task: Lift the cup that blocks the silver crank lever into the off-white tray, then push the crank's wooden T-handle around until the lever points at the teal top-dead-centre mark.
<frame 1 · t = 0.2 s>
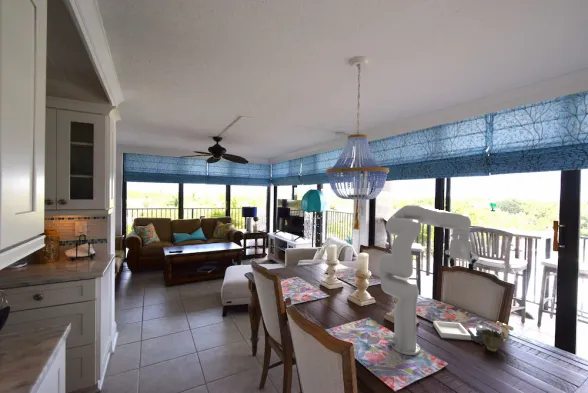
hand: (461, 268, 144), 31 cm above the table, tool pointing down, fingers open, 9 cm apart
crank: (491, 327, 126), point 8 cm above the table, hinge at 0.0°
cup: (491, 350, 121), on the table
crank base: (480, 338, 130), on the table
tray: (451, 332, 137), on the table
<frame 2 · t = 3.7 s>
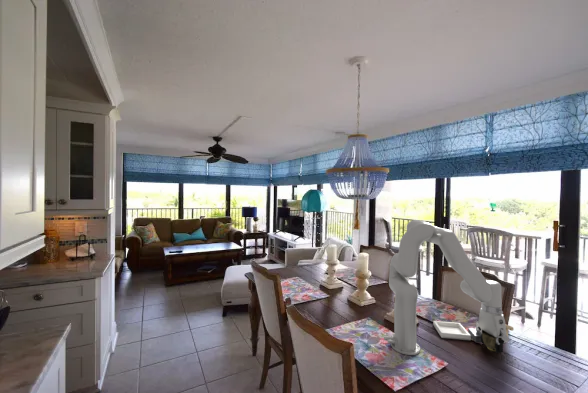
hand: (491, 347, 121), 1 cm above the table, tool pointing down, fingers closed on cup, 6 cm apart
cup: (491, 350, 121), on the table, touching gripper
everything else where it was.
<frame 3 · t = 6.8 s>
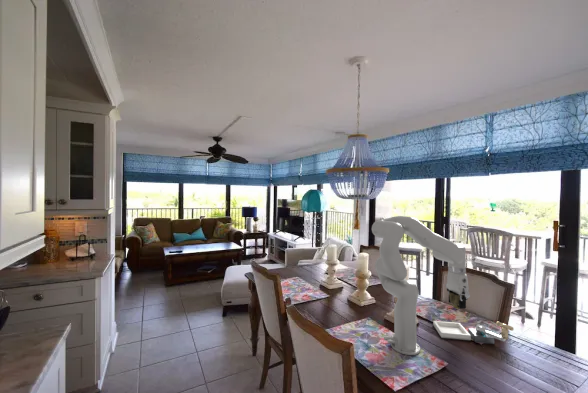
hand: (457, 305, 134), 15 cm above the table, tool pointing down, fingers closed on cup, 6 cm apart
cup: (457, 308, 134), point 14 cm above the table, touching gripper
everything else where it was.
when the fingers open (3 cm above the table, at t = 10.0 s): cup drops 1 cm, resting on tray.
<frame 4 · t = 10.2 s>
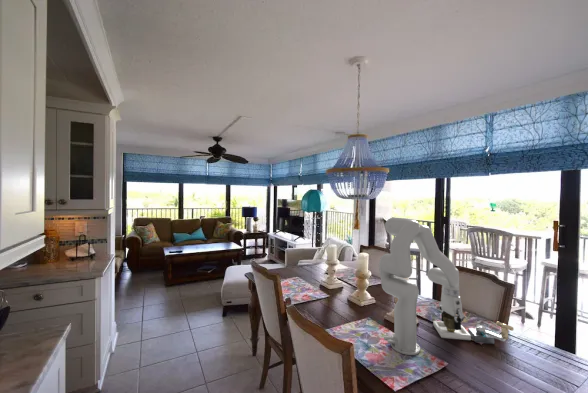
hand: (450, 325, 137), 4 cm above the table, tool pointing down, fingers open, 8 cm apart
cup: (450, 331, 137), resting on tray
everything else where it was.
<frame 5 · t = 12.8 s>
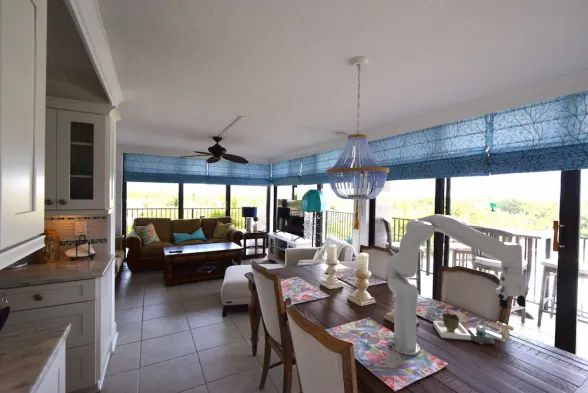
hand: (512, 306, 123), 19 cm above the table, tool pointing down, fingers open, 9 cm apart
nothing on the table moved.
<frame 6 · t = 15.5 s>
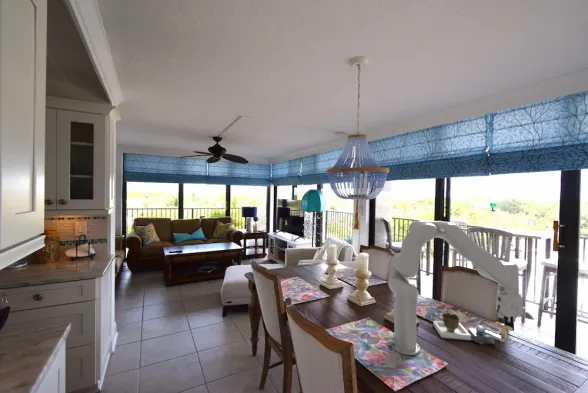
hand: (509, 329, 122), 9 cm above the table, tool pointing down, fingers closed
crank: (490, 327, 126), point 8 cm above the table, hinge at -3.4°, touching gripper
everything else where it was.
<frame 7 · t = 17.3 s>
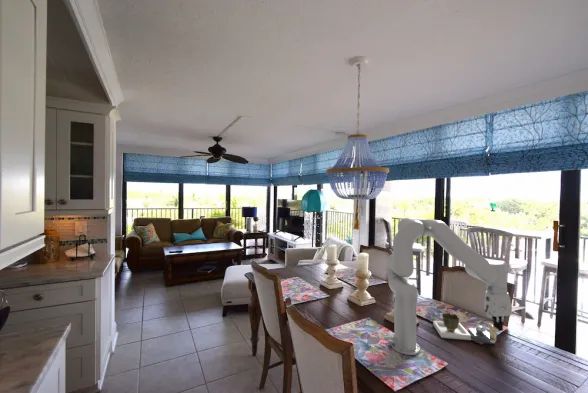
hand: (498, 329, 121), 9 cm above the table, tool pointing down, fingers closed
crank: (486, 328, 126), point 8 cm above the table, hinge at -37.0°, touching gripper
everything else where it was.
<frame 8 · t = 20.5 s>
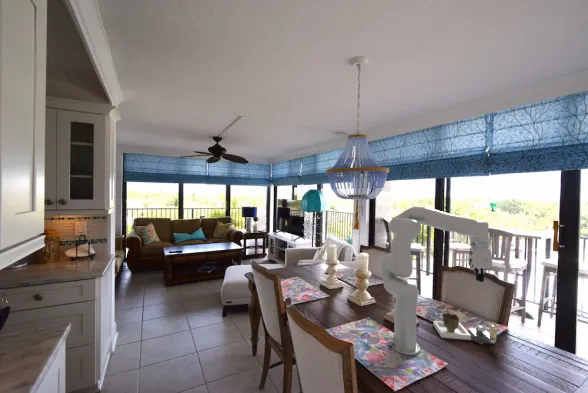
hand: (479, 280, 135), 27 cm above the table, tool pointing down, fingers closed
crank: (486, 328, 126), point 8 cm above the table, hinge at -37.1°
everything else where it was.
at the end: cup inside the target area on the tray (0.1 cm from its centre), point 0.4 cm above the tray's base; crank at -37° (first picture: +0°) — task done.
